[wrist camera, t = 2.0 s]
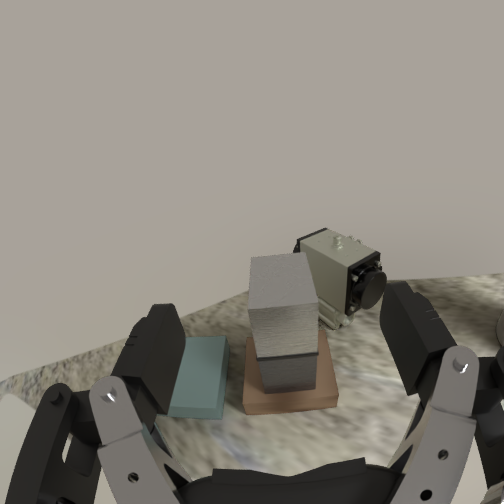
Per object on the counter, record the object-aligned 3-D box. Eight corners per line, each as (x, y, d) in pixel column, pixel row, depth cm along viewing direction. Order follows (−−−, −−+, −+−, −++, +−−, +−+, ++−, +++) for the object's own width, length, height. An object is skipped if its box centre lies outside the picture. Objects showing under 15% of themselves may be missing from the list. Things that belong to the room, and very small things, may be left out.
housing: (308, 337, 30) (306, 251, 24) (316, 390, 23) (320, 302, 18) (264, 341, 30) (250, 257, 25) (263, 395, 24) (246, 310, 19)
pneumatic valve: (352, 351, 29) (363, 265, 24) (294, 304, 39) (288, 227, 33) (382, 329, 32) (396, 245, 26) (323, 289, 41) (322, 214, 35)
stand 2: (324, 343, 31) (324, 329, 30) (336, 406, 24) (338, 394, 22) (249, 351, 32) (246, 337, 31) (246, 415, 24) (242, 403, 23)
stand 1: (229, 349, 33) (225, 335, 32) (221, 419, 24) (216, 408, 23) (157, 350, 34) (150, 337, 33) (136, 412, 25) (126, 401, 24)
